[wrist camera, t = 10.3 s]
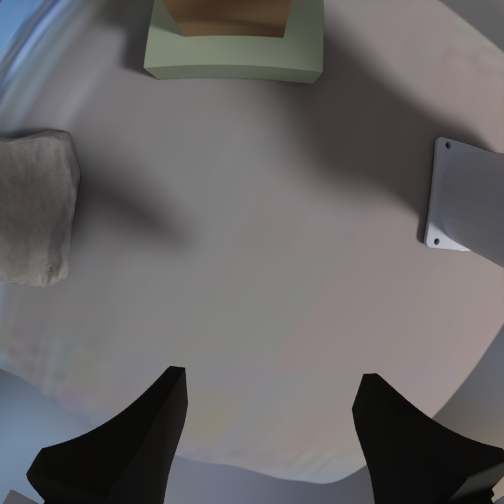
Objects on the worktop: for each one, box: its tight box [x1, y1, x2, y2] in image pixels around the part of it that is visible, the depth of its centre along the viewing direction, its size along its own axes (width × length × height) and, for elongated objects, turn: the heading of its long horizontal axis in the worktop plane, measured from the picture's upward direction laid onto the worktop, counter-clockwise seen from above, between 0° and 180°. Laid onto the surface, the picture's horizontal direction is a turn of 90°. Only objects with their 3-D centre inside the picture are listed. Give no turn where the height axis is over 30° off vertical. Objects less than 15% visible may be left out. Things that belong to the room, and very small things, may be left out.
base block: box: [144, 0, 324, 84], centre depth 15 cm, size 10×10×3 cm
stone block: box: [0, 130, 81, 287], centre depth 19 cm, size 12×5×10 cm
